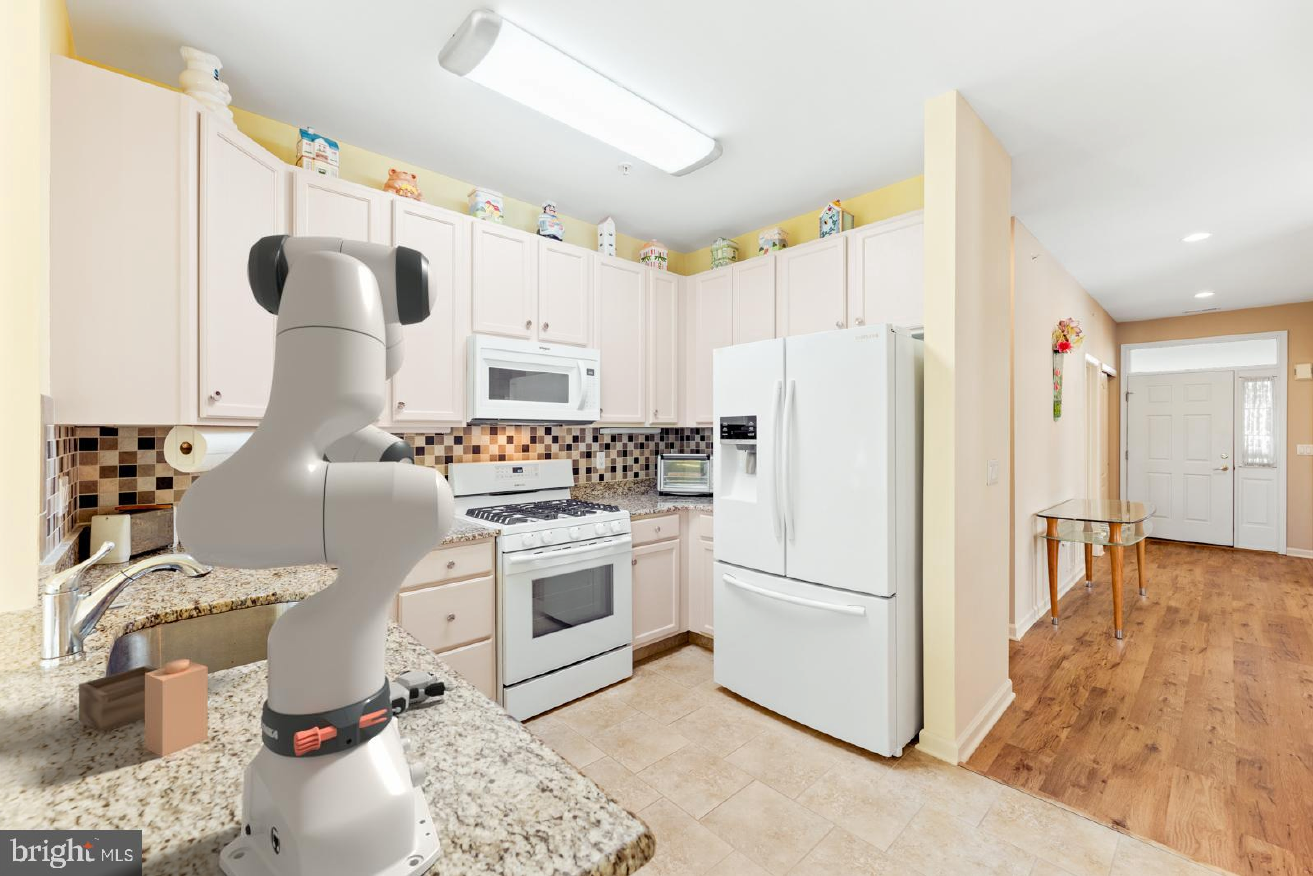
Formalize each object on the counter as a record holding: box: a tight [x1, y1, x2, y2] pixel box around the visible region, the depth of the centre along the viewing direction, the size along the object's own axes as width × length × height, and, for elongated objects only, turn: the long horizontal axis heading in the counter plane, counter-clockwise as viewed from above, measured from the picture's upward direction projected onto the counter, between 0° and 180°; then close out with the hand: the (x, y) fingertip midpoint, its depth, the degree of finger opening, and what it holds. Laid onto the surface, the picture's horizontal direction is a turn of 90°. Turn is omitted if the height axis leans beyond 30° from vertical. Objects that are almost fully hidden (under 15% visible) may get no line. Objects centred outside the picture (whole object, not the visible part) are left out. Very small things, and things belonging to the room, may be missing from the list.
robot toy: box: [389, 670, 455, 718], centre depth 86 cm, size 12×4×15 cm
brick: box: [144, 658, 209, 758], centre depth 76 cm, size 5×5×11 cm
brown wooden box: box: [78, 664, 159, 733], centre depth 84 cm, size 8×8×5 cm
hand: (263, 544), depth 86 cm, fingers open, 8 cm apart
